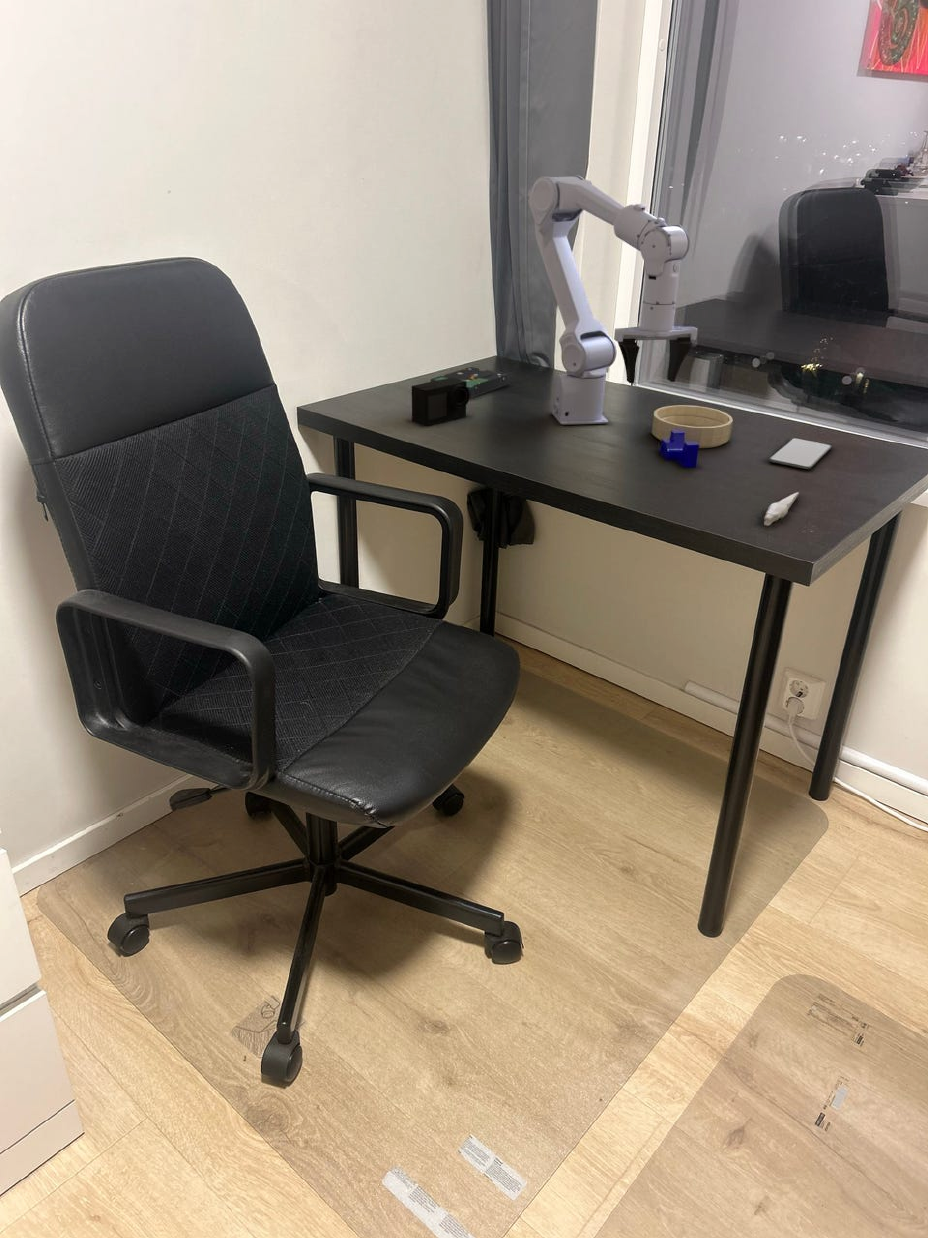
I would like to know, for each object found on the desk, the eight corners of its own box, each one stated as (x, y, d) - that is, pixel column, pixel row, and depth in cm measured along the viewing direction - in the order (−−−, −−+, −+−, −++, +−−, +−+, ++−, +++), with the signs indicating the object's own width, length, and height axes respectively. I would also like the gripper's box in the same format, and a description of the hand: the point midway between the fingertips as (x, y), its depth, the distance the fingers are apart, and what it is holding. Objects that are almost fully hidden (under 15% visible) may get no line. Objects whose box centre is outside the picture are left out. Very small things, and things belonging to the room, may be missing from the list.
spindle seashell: (773, 529, 127) (775, 517, 127) (755, 525, 129) (757, 513, 128) (805, 499, 138) (808, 488, 137) (789, 495, 139) (791, 484, 138)
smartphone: (832, 444, 159) (809, 467, 149) (831, 447, 160) (808, 470, 149) (793, 437, 163) (768, 458, 152) (793, 440, 163) (768, 461, 152)
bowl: (666, 450, 157) (669, 428, 155) (641, 426, 169) (643, 406, 167) (741, 448, 159) (745, 426, 157) (711, 424, 171) (714, 404, 169)
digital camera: (429, 428, 166) (429, 391, 163) (411, 421, 170) (411, 385, 166) (470, 418, 172) (471, 382, 169) (452, 411, 176) (452, 376, 172)
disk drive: (469, 378, 199) (429, 391, 188) (470, 366, 197) (429, 378, 187) (507, 386, 194) (468, 399, 183) (508, 373, 192) (469, 386, 182)
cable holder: (659, 452, 156) (662, 430, 154) (678, 451, 156) (681, 429, 155) (676, 467, 149) (679, 445, 147) (695, 467, 150) (699, 444, 148)
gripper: (625, 306, 147) (618, 387, 154) (708, 305, 149) (697, 385, 156) (613, 299, 153) (606, 378, 160) (692, 298, 155) (682, 375, 162)
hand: (650, 381), depth 158 cm, fingers open, 7 cm apart
